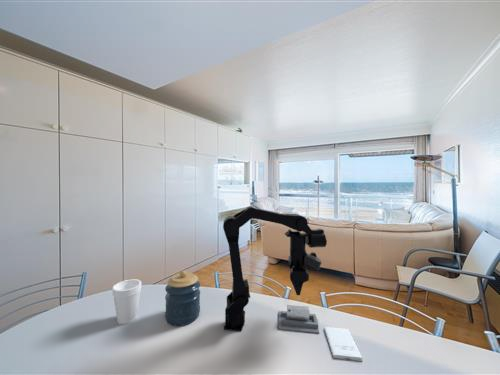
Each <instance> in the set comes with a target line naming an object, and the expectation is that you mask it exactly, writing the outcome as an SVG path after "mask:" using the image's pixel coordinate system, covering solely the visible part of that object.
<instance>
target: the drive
mask: <svg viewBox="0 0 500 375" xmlns="http://www.w3.org/2000/svg"><path fill="white" fill-rule="evenodd" d="M286 312H287V320H296V321H306V322H309V314H310V307H309V306H304V305H295V304H293V305H291V304H286Z"/></svg>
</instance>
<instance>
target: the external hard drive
mask: <svg viewBox="0 0 500 375" xmlns="http://www.w3.org/2000/svg"><path fill="white" fill-rule="evenodd" d="M323 330H324V334H325V336H326V339H327V342H328V345H329V349H330V351H331V354H332V358H335V359H341V360H342V359H343V360H346V359H347V360H350V361H351V360H352V361H359V362H360V361H361V362H362V361H363V357H362V355H361V352H360V350H359V349H358V347H357V344H356V343H355V340H354V338H353V336H352V334H351V332H350V330H349V328H343V327H333V326H324V328H323Z"/></svg>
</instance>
